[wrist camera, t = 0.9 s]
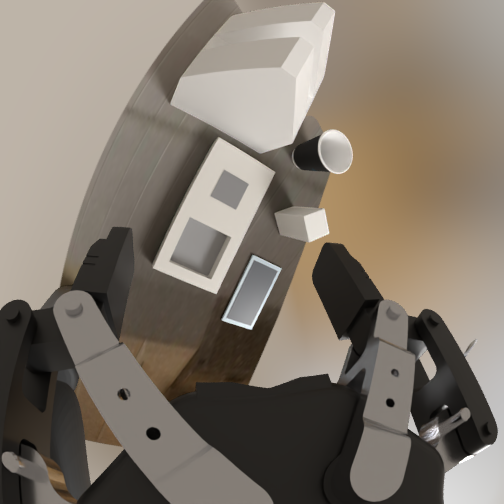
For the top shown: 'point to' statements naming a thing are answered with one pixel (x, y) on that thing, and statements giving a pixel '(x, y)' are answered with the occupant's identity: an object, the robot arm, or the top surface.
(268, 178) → the outlet strip
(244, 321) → the phone
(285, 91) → the milk carton
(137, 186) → the top surface
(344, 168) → the dixie cup
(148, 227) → the top surface
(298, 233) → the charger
